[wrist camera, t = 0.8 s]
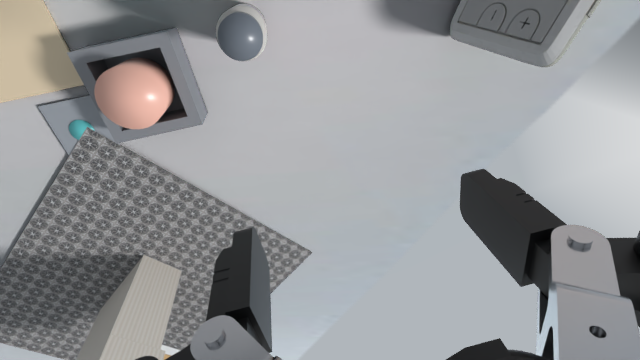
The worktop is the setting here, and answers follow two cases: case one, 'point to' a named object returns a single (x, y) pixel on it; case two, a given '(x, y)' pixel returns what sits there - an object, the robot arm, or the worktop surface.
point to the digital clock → (522, 27)
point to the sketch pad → (32, 52)
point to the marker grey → (242, 32)
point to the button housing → (159, 49)
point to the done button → (134, 93)
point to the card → (74, 120)
